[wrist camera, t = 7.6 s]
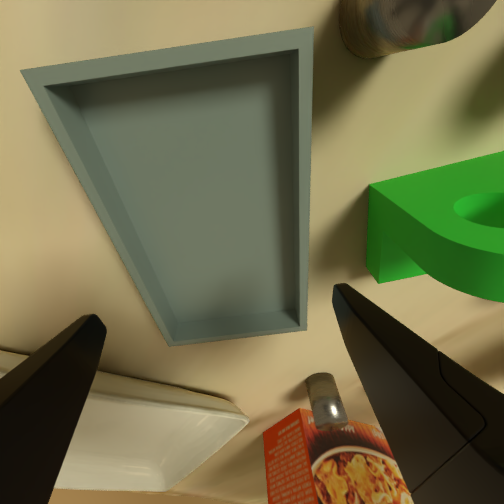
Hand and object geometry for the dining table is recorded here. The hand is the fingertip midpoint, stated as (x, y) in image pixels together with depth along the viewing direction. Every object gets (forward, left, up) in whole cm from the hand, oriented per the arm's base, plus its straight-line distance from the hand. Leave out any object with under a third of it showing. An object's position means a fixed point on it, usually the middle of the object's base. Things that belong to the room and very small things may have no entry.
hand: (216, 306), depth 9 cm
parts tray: (0, 0, -6) cm, 6 cm away
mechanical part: (-15, +1, -7) cm, 16 cm away
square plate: (+19, +22, -7) cm, 30 cm away
